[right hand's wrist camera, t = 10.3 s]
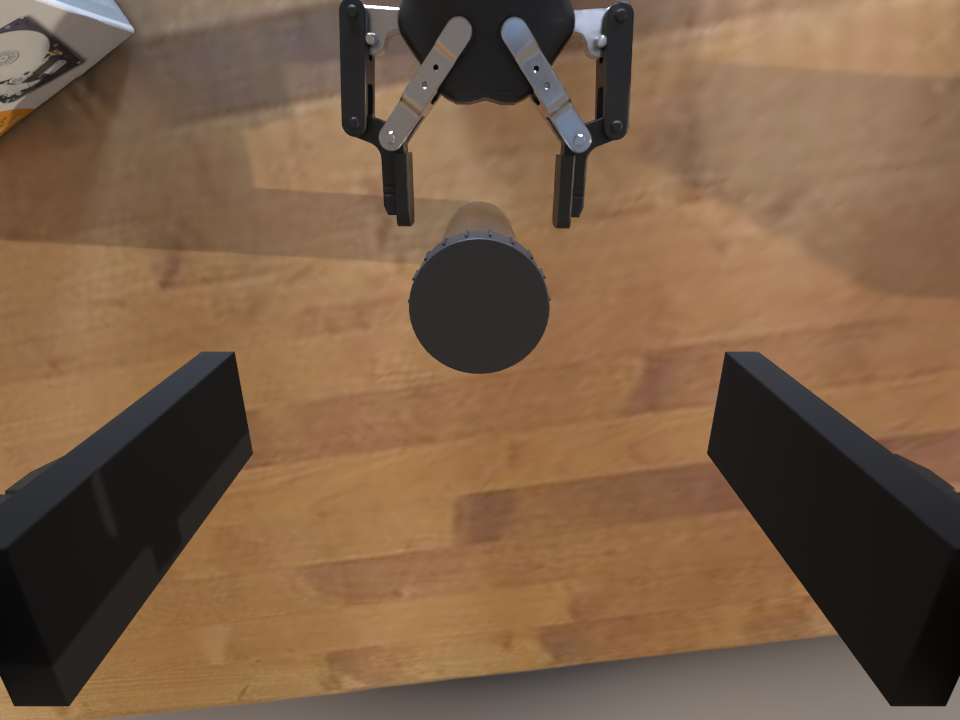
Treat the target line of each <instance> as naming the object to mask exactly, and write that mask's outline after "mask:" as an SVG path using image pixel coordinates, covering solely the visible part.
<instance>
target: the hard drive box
mask: <svg viewBox="0 0 960 720" xmlns="http://www.w3.org/2000/svg"><path fill="white" fill-rule="evenodd" d="M133 33H134V29H133V27H132V26H131V24H130V23H129V21H128V20H127V18H126V17H125V15H124V14H123V12H122V11H121V10H120V8H119V7H118V5H117V4H116V2H115V1H114V0H0V137H1V136H2V135H3V134H4V133H5V132H7V131H8V130H9V129H10V128H11V127H12V126H14V125H15V124H16V123H17V122H19V121H20V120H21V119H23V118H24V117H25V116H27V115H28V114H29V113H30V112H32V111H33V110H35V109H36V108H37V107H38V106H40V105H41V104H42V103H44V102H45V101H46V100H48V99H49V98H50V97H52V96H53V95H54V94H56V93H57V92H58V91H59V90H61V89H62V88H63V87H65V86H66V85H67V84H69V83H70V82H71V81H72V80H74V79H75V78H77V77H79V76H81V75H82V74H84V73H85V72H86V71H87V70H88V69H89V68H91V67H92V66H93V65H95V64H96V63H97V62H99V61H100V60H101V59H102V58H103V57H105V56H106V55H107V54H108V53H109V52H110V51H112V50H113V49H114V48H116V47H117V46H118V45H119V44H121V43H122V42H123V41H124V40H126V39H127V38H128V37H130V36H131V35H133Z"/></svg>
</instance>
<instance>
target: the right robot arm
mask: <svg viewBox="0 0 960 720" xmlns="http://www.w3.org/2000/svg"><path fill="white" fill-rule="evenodd" d="M252 454H253V451H252V446H251V440H250V435H249V429H248V424H247V418H246V413H245V407H244V401H243V396H242V390H241V385H240V379H239V374H238V368H237V363H236V357H235V352H201V353H200V354H198V355H197V356H196V357H194V358H193V359H192V360H190V361H189V362H188V363H186V364H185V365H184V366H182V367H181V368H180V369H178V370H177V371H176V372H174V373H173V374H172V375H171V376H169V377H168V378H167V379H165V380H164V381H163V382H161V383H160V384H159V385H157V386H156V387H155V388H153V389H152V390H151V391H149V392H148V393H147V394H145V395H144V396H143V397H141V398H140V399H139V400H137V401H136V402H135V403H134V404H132V405H131V406H130V407H128V408H127V409H126V410H124V411H123V412H122V413H120V414H119V415H118V416H116V417H115V418H114V419H112V420H111V421H110V422H108V423H107V424H106V425H104V426H103V427H102V428H101V429H99V430H98V431H97V432H95V433H94V434H93V435H91V436H90V437H89V438H87V439H86V440H85V441H83V442H82V443H81V444H79V445H78V446H77V447H75V448H74V449H73V450H71V451H70V452H69V453H67V454H66V455H65V456H63V457H61V458H59V459H57V460H55V461H53V462H51V463H48V464H46V465H44V466H42V467H40V468H38V469H36V470H34V471H32V472H30V473H29V474H28V475H26V476H25V477H23V478H22V479H21V480H19V481H18V482H17V483H15V484H14V485H13V486H11V487H10V488H9V489H7V490H6V491H5V492H6V493H5V495H0V676H1V678H2V681H3V683H4V685H5V687H6V689H7V691H8V694H9V696H10V698H11V700H12V702H13V704H14V706H70V704H71V703H72V702H73V700H74V699H75V697H76V696H77V695H78V693H79V692H80V691H81V689H82V688H83V686H84V685H85V684H86V682H87V681H88V680H89V678H90V677H91V675H92V674H93V673H94V671H95V670H96V669H97V667H98V666H99V664H100V663H101V662H102V660H103V659H104V658H105V656H106V655H107V653H108V652H109V651H110V649H111V648H112V647H113V645H114V644H115V642H116V641H117V640H118V638H119V637H120V636H121V634H122V633H123V631H124V630H125V629H126V627H127V626H128V625H129V623H130V622H131V620H132V619H133V618H134V616H135V615H136V614H137V612H138V611H139V609H140V608H141V607H142V605H143V604H144V603H145V601H146V600H147V598H148V597H149V596H150V594H151V593H152V592H153V590H154V589H155V587H156V586H157V585H158V583H159V582H160V581H161V579H162V578H163V576H164V575H165V574H166V572H167V571H168V570H169V568H170V567H171V565H172V564H173V563H174V561H175V560H176V559H177V557H178V556H179V554H180V553H181V552H182V550H183V549H184V548H185V546H186V545H187V543H188V542H189V541H190V539H191V538H192V537H193V535H194V534H195V532H196V531H197V530H198V528H199V527H200V526H201V524H202V523H203V521H204V520H205V519H206V517H207V516H208V515H209V513H210V512H211V510H212V509H213V508H214V506H215V505H216V504H217V502H218V501H219V499H220V498H221V497H222V495H223V494H224V493H225V491H226V490H227V488H228V487H229V486H230V484H231V483H232V482H233V480H234V479H235V477H236V476H237V475H238V473H239V472H240V471H241V469H242V468H243V466H244V465H245V464H246V462H247V461H248V460H249V458H250V457H251V455H252ZM707 454H708V455H709V457H710V458H711V460H712V461H713V462H714V464H715V465H716V466H717V468H718V469H719V471H720V472H721V473H722V475H723V476H724V477H725V479H726V480H727V482H728V483H729V484H730V486H731V487H732V488H733V490H734V491H735V493H736V494H737V495H738V497H739V498H740V499H741V501H742V502H743V504H744V505H745V506H746V508H747V509H748V510H749V512H750V513H751V515H752V516H753V517H754V519H755V520H756V521H757V523H758V524H759V526H760V527H761V528H762V530H763V531H764V532H765V534H766V535H767V537H768V538H769V539H770V541H771V542H772V543H773V545H774V546H775V548H776V549H777V550H778V552H779V553H780V554H781V556H782V557H783V559H784V560H785V561H786V563H787V564H788V565H789V567H790V568H791V570H792V571H793V572H794V574H795V575H796V576H797V578H798V579H799V581H800V582H801V583H802V585H803V586H804V587H805V589H806V590H807V592H808V593H809V594H810V596H811V597H812V598H813V600H814V601H815V603H816V604H817V605H818V607H819V608H820V609H821V611H822V612H823V614H824V615H825V616H826V618H827V619H828V620H829V622H830V623H831V625H832V626H833V627H834V629H835V630H836V631H837V633H838V634H839V636H840V637H841V638H842V640H843V641H844V642H845V644H846V645H847V646H848V648H849V649H850V651H851V652H852V653H853V655H854V656H855V658H856V659H857V660H858V662H859V663H860V664H861V666H862V667H863V669H864V670H865V671H866V673H867V674H868V675H869V677H870V678H871V680H872V681H873V682H874V684H875V685H876V686H877V688H878V689H879V690H880V692H881V693H882V695H883V696H884V697H885V699H886V700H887V702H888V703H889V704H890V706H946V704H947V702H948V700H949V698H950V696H951V694H952V691H953V689H954V687H955V685H956V683H957V681H958V678H959V676H960V493H956V491H955V488H954V487H952V486H951V485H950V484H948V483H947V482H946V481H944V480H943V479H941V478H940V477H939V476H937V475H936V474H935V473H933V472H932V471H931V470H929V469H927V468H925V467H923V466H921V465H918V464H916V463H914V462H912V461H910V460H908V459H906V458H904V457H902V456H900V455H898V454H893V453H891V452H890V451H889V450H887V449H886V448H885V447H883V446H882V445H881V444H879V443H878V442H877V441H875V440H874V439H873V438H871V437H870V436H869V435H867V434H866V433H865V432H863V431H862V430H861V429H859V428H858V427H857V426H856V425H854V424H853V423H852V422H850V421H849V420H848V419H846V418H845V417H844V416H842V415H841V414H840V413H838V412H837V411H836V410H834V409H833V408H832V407H830V406H829V405H828V404H826V403H825V402H824V401H823V400H821V399H820V398H819V397H817V396H816V395H815V394H813V393H812V392H811V391H809V390H808V389H807V388H805V387H804V386H803V385H801V384H800V383H799V382H797V381H796V380H795V379H793V378H792V377H791V376H789V375H788V374H787V373H786V372H784V371H783V370H782V369H780V368H779V367H778V366H776V365H775V364H774V363H772V362H771V361H770V360H768V359H767V358H766V357H764V356H763V355H762V354H760V353H759V352H725V357H724V363H723V368H722V374H721V379H720V385H719V390H718V396H717V402H716V407H715V413H714V418H713V424H712V429H711V435H710V440H709V446H708V451H707Z"/></svg>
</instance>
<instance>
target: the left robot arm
mask: <svg viewBox="0 0 960 720" xmlns="http://www.w3.org/2000/svg"><path fill="white" fill-rule="evenodd" d="M633 18H634V12H633V8H632V6H631V5H630V4H629V3H628V2H626V1H618V2H616V3H614V4H613V5H612V6H611V7H609V8H600V9H584V10H573V7H572V5H571V3H570V0H403V2H402V4H401V6H400V8H391V7H378V6H366V5H363V4H362V2H361V1H360V0H343V1H342V3H341V5H340V8H339V20H340V64H341V109H342V127H343V129H344V131H345V132H346V133H347V134H348V135H350V136H353V137H357V138H359V139H362V140H364V141H367V142H370V143H372V144H373V145H375V146H376V147H377V148H378V150H379V151H380V153H381V158H382V175H383V193H384V206H385V208H386V211H387V213H388V215H397V224H398V226H412V224H413V223H414V192H413V163H412V152H408V143H409V141H410V140H411V138H412V137H413V135H414V134H415V132H416V131H417V129H418V128H419V126H420V125H421V124H422V122H423V121H424V119H425V118H426V117H427V116H428V115H429V113H430V112H431V110H432V109H433V107H434V106H435V104H436V103H437V101H438V100H439V98H440V97H441V95H442V96H443V97H444V98H446V99H447V100H449V101H451V102H454V103H455V104H474V103H477V102H481V101H484V100H486V101H490V102H493V103H496V104H499V105H515V104H516V103H519V102H521V101H523V100H524V99H526V98H527V97H528V96H529V98H530V99H531V101H532V102H533V104H534V105H535V107H536V108H537V110H538V112H539V113H540V114H541V116H542V117H543V118H544V119H545V121H546V122H547V124H548V125H549V127H550V128H551V130H552V131H553V133H554V134H555V136H556V138H557V139H558V141H559V142H560V144H561V153H560V155H556V164H555V182H554V199H553V225H554V226H555V228H569V227H570V222H571V217H579V216H580V214H581V212H582V210H583V206H584V193H585V180H586V168H587V158H588V155H589V153H590V152H591V151H592V150H593V149H594V148H595V147H597V146H599V145H602V144H605V143H607V142H610V141H613V140H618V139H621V138H622V137H624V136H625V135H626V133H627V131H628V127H629V105H630V83H631V62H632V40H633ZM399 33H400V34H401V36H402V37H403V39H404V41H405V42H406V44H407V45H408V47H409V48H410V50H411V51H412V53H413V54H414V56H415V57H416V59H417V60H418V62H419V63H420V65H421V66H420V68H419V69H418V71H417V72H416V74H415V76H414V77H413V79H412V80H411V82H410V83H409V85H408V86H407V88H406V89H405V91H404V93H403V94H402V96H401V99H400V101H399V103H398V105H397V106H396V108H395V109H394V111H393V112H392V114H391V115H390V117H389V118H388V120H387V121H383V120H381V119H378V118H376V117H375V58H379V57H382V56H383V55H384V54H385V53H386V51H387V49H388V43H389V40H390V39H391V37H392V36H394V35H395V34H399ZM572 35H574V36H577V37H578V38H580V39H581V41H582V43H583V46H584V52H585V54H586V56H587V57H588V58H590V59H592V60H596V101H595V120H593V121H590V122H587V123H585V124H584V122H583V121H582V119H581V118H580V116H579V114H578V113H577V111H576V109H575V108H574V106H573V105H572V103H571V100H570V97H569V95H568V93H567V92H566V90H565V88H564V87H563V85H562V83H561V82H560V80H559V79H558V77H557V75H556V74H555V72H554V71H553V69H552V67H551V66H552V64H553V63H554V61H555V60H556V58H557V57H558V56H559V54H560V53H561V51H562V50H563V48H564V47H565V45H566V44H567V43H568V41H569V40H570V38H571V36H572Z"/></svg>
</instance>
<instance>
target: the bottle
mask: <svg viewBox="0 0 960 720" xmlns="http://www.w3.org/2000/svg"><path fill="white" fill-rule="evenodd" d="M467 229H468V231H476V230H482V231H488V230H489V229H491V231H492V232H496V233H499V234H503V235H505V236H507V237H509V238H510V236H512V237H513V239H514V241H516V238H515V235H514V232H513V230H512V227H511V224H510V222H509V220H508V218H507V216H506V215H505V213H504V212H503V211H502V210H501V209H499V208H498V207H496V206H495V205H492V204H490V203H486V202H473V203H469V204H467V205H465V206H463V207H461V208H460V209H459V210H458V211H457V212H456V213H455V214H454V215H453V217H452V218H451V220H450V223H449V225H448V228H447V230H446V233H445V236H444V238H445V237H447V238H450V237H451V236H454V235H457V234H459V233H463V232H465V230H467ZM444 238H443V240H444ZM442 242H443V241H442ZM516 242H517V241H516Z"/></svg>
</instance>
